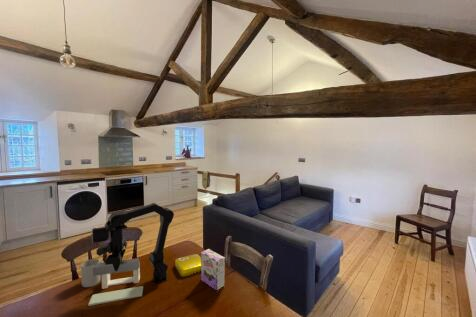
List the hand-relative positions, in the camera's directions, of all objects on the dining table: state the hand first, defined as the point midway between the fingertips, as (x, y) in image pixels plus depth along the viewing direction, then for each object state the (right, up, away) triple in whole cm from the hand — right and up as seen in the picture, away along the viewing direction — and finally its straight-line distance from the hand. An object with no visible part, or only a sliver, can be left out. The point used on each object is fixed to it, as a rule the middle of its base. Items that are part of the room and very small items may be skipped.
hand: (117, 268), depth 111 cm
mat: (+1, -13, -1) cm, 13 cm away
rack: (-3, -12, +10) cm, 16 cm away
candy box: (+47, -13, +10) cm, 49 cm away
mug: (-19, -12, +11) cm, 25 cm away
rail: (0, -1, 0) cm, 1 cm away
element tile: (+31, -12, +25) cm, 42 cm away
